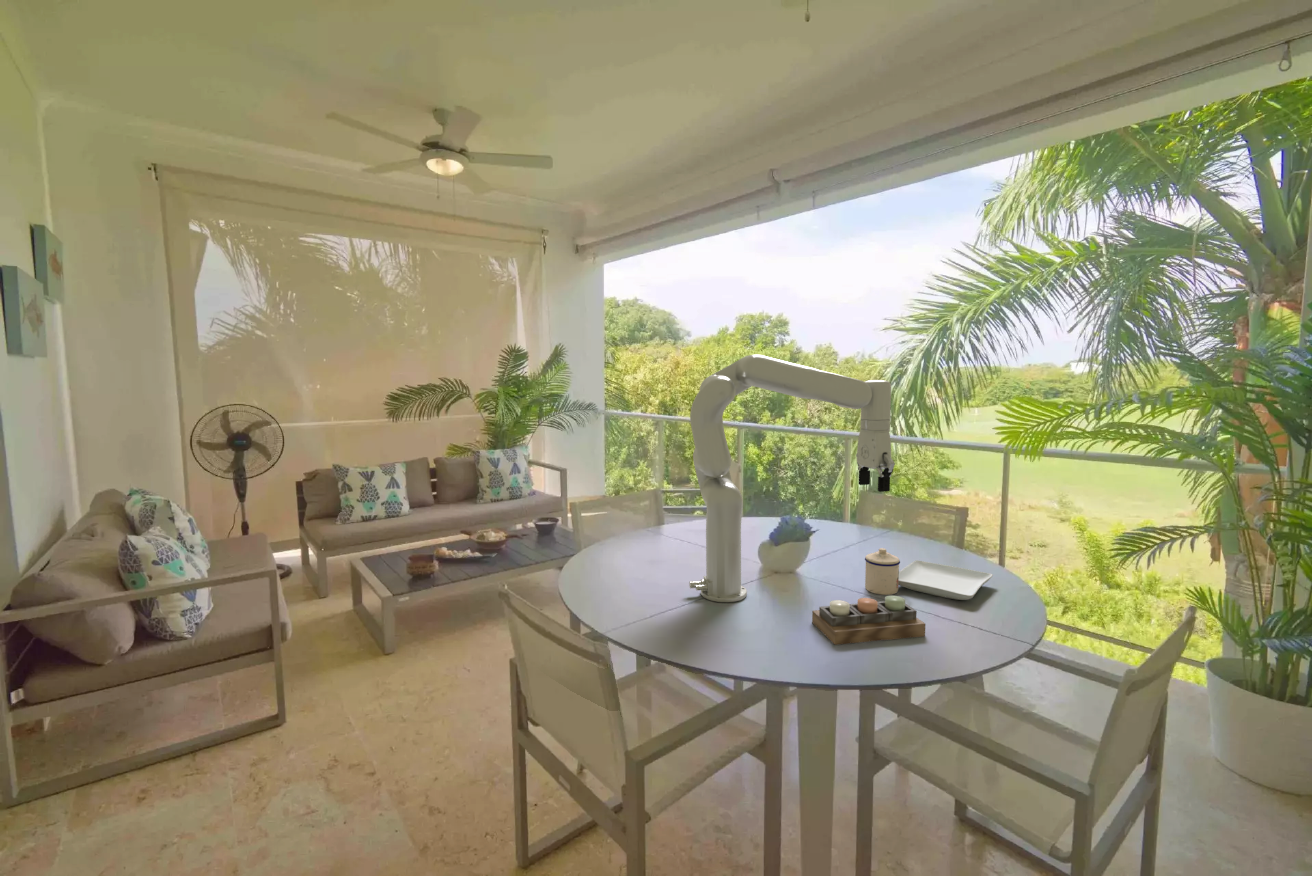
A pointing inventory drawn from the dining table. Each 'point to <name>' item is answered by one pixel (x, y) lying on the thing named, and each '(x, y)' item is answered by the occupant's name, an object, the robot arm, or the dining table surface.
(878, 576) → the teacup with lid
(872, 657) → the dining table surface
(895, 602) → the sage button
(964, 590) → the salad plate
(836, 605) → the cream button
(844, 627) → the button console
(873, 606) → the terracotta button
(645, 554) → the dining table surface
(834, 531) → the dining table surface
